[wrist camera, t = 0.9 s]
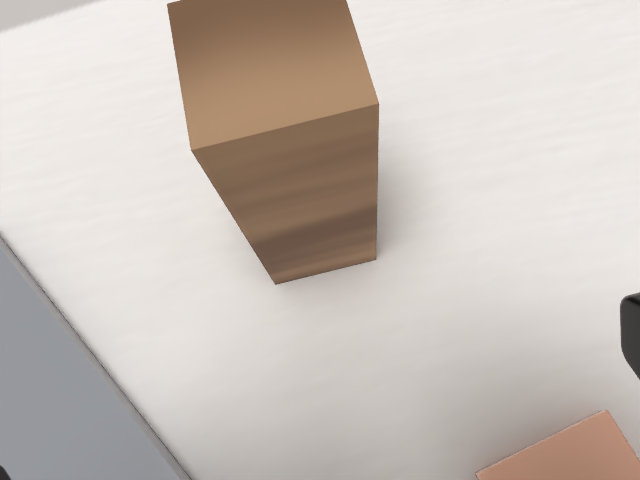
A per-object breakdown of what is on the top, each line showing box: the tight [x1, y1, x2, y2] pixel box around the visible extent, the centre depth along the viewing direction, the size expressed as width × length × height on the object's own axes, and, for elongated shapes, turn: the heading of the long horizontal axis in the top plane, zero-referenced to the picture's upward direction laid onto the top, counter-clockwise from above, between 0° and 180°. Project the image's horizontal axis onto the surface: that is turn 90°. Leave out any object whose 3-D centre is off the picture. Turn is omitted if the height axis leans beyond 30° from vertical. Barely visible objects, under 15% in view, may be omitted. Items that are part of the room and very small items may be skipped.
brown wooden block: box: [167, 0, 379, 285], centre depth 18 cm, size 4×4×11 cm
